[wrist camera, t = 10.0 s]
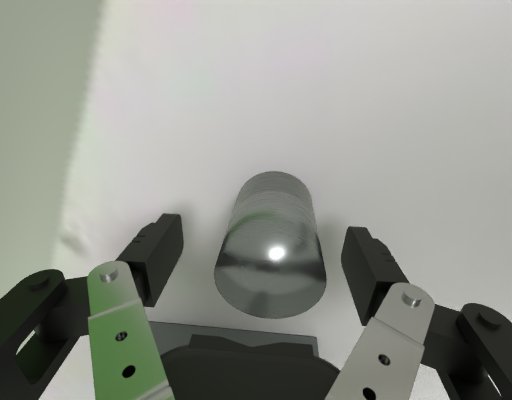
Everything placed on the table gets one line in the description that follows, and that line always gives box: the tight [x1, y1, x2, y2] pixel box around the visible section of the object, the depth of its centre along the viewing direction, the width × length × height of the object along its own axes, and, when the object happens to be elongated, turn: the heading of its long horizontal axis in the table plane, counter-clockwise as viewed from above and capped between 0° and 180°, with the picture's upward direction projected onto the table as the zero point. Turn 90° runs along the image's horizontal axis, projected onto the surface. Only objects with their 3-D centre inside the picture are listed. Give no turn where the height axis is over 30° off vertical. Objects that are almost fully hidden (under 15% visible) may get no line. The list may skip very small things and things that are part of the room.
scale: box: [148, 321, 319, 357], centre depth 22 cm, size 16×13×4 cm
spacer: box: [214, 171, 326, 319], centre depth 13 cm, size 4×4×6 cm
